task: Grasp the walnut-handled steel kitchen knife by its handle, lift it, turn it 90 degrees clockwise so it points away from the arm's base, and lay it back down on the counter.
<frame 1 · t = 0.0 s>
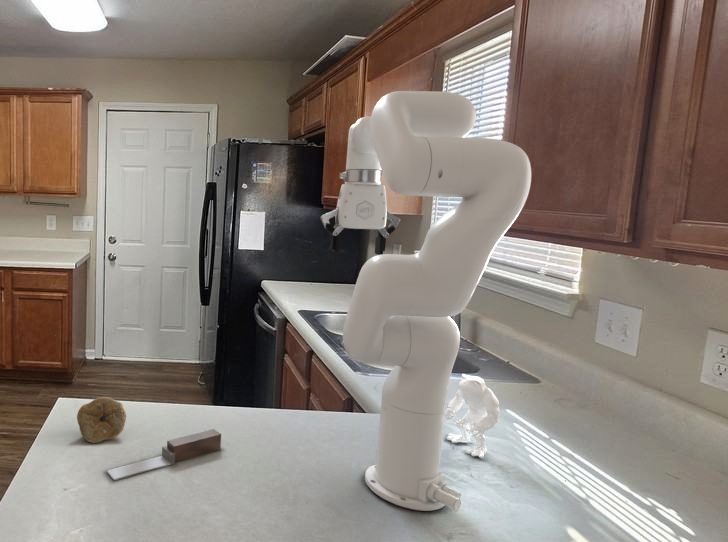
hand: (356, 253, 114), 37 cm above the counter, tool pointing down, fingers open, 9 cm apart
knife: (167, 460, 92), on the counter
fossil: (101, 435, 101), on the counter
figurine: (468, 448, 101), on the counter
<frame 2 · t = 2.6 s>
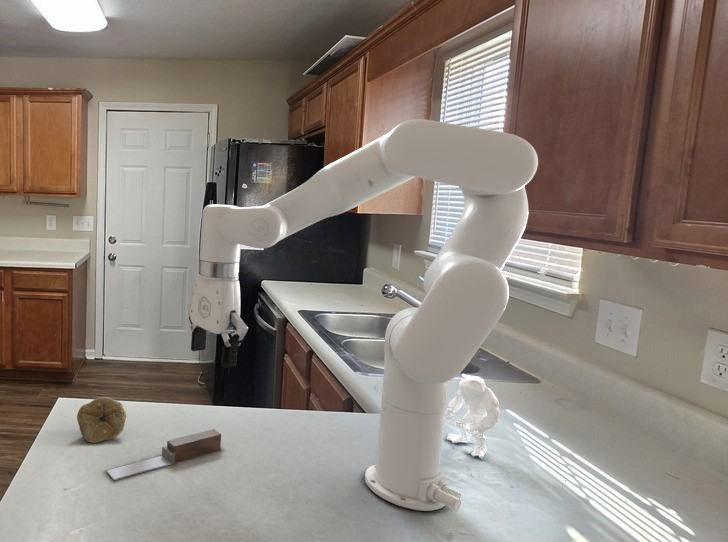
hand: (212, 357, 96), 18 cm above the counter, tool pointing down, fingers open, 9 cm apart
nothing on the counter moved.
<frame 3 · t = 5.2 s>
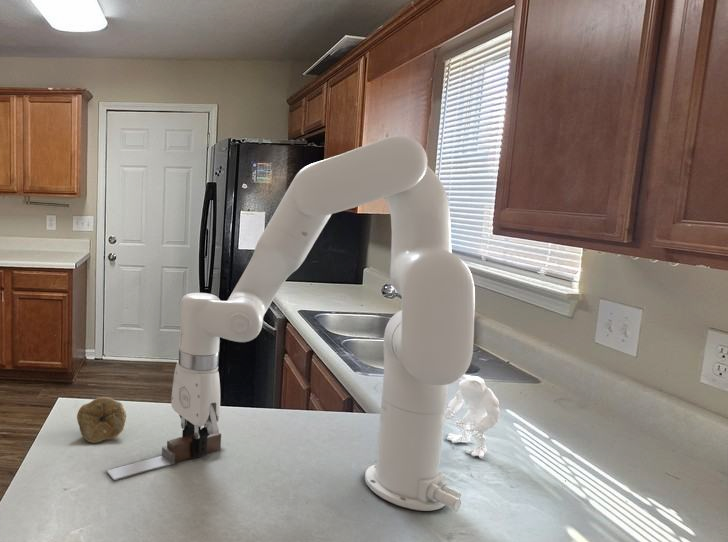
hand: (194, 451, 95), 0 cm above the counter, tool pointing down, fingers closed on knife, 2 cm apart
knife: (167, 460, 92), on the counter, touching gripper
everything else where it was.
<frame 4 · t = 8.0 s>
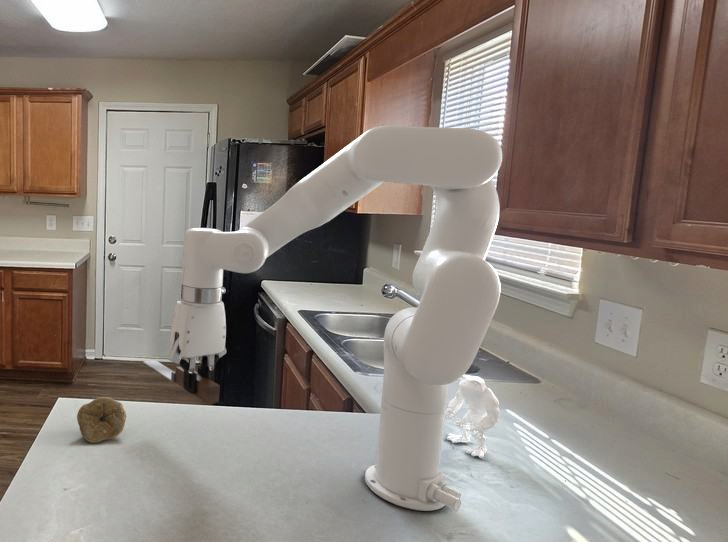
hand: (196, 389, 94), 13 cm above the counter, tool pointing down, fingers closed on knife, 2 cm apart
knife: (178, 380, 99), point 12 cm above the counter, touching gripper
everything else where it was.
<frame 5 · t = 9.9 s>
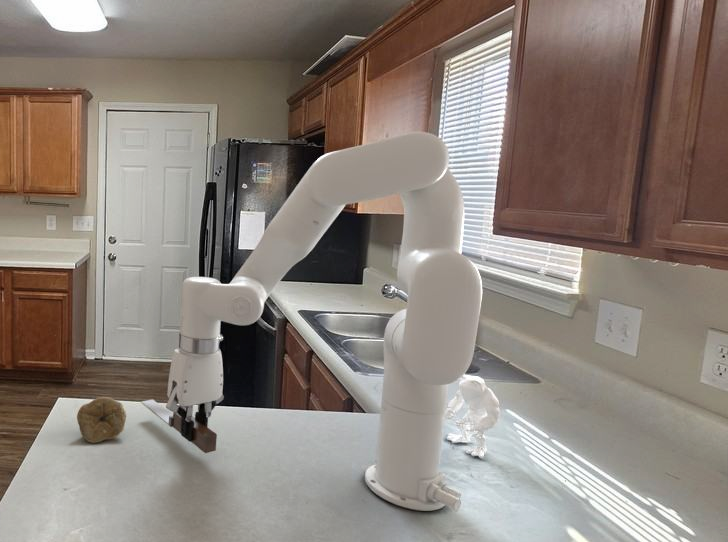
hand: (193, 435, 95), 3 cm above the counter, tool pointing down, fingers closed on knife, 2 cm apart
knife: (176, 424, 100), point 3 cm above the counter, touching gripper
everything else where it was.
when the fingers open (1 cm above the counter, at t = 10.9 s): knife stays where it is, on the counter.
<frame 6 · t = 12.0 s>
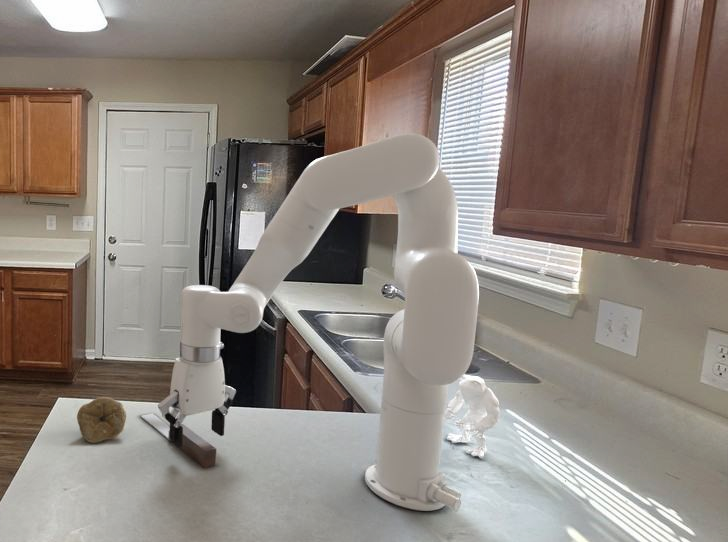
hand: (197, 438, 95), 3 cm above the counter, tool pointing down, fingers open, 9 cm apart
knife: (175, 438, 101), on the counter
everything else where it was.
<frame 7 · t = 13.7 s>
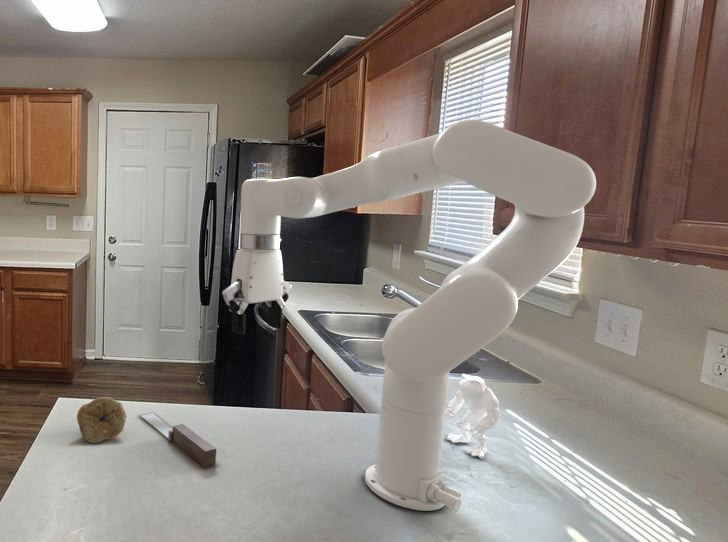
hand: (257, 330, 97), 23 cm above the counter, tool pointing down, fingers open, 9 cm apart
nothing on the counter moved.
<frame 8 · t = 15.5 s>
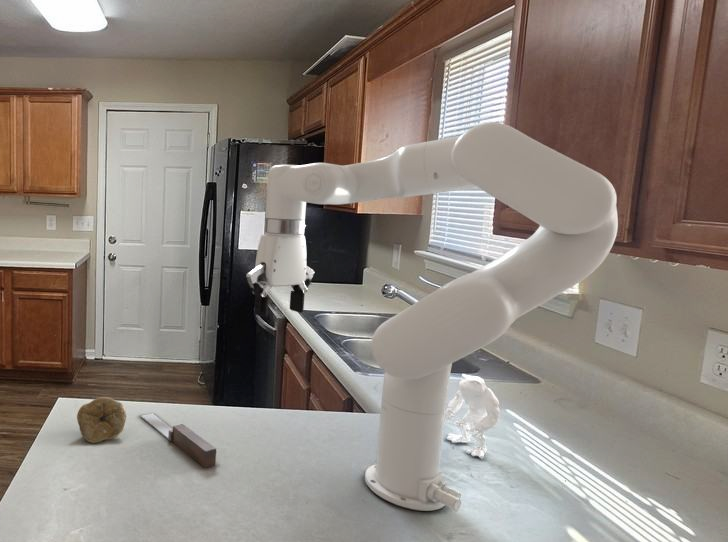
hand: (278, 313, 100), 26 cm above the counter, tool pointing down, fingers open, 9 cm apart
nothing on the counter moved.
at the end: knife 0.1 cm from the target spot, on the counter; knife moved 8.6 cm from its start; the gripper is holding nothing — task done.
